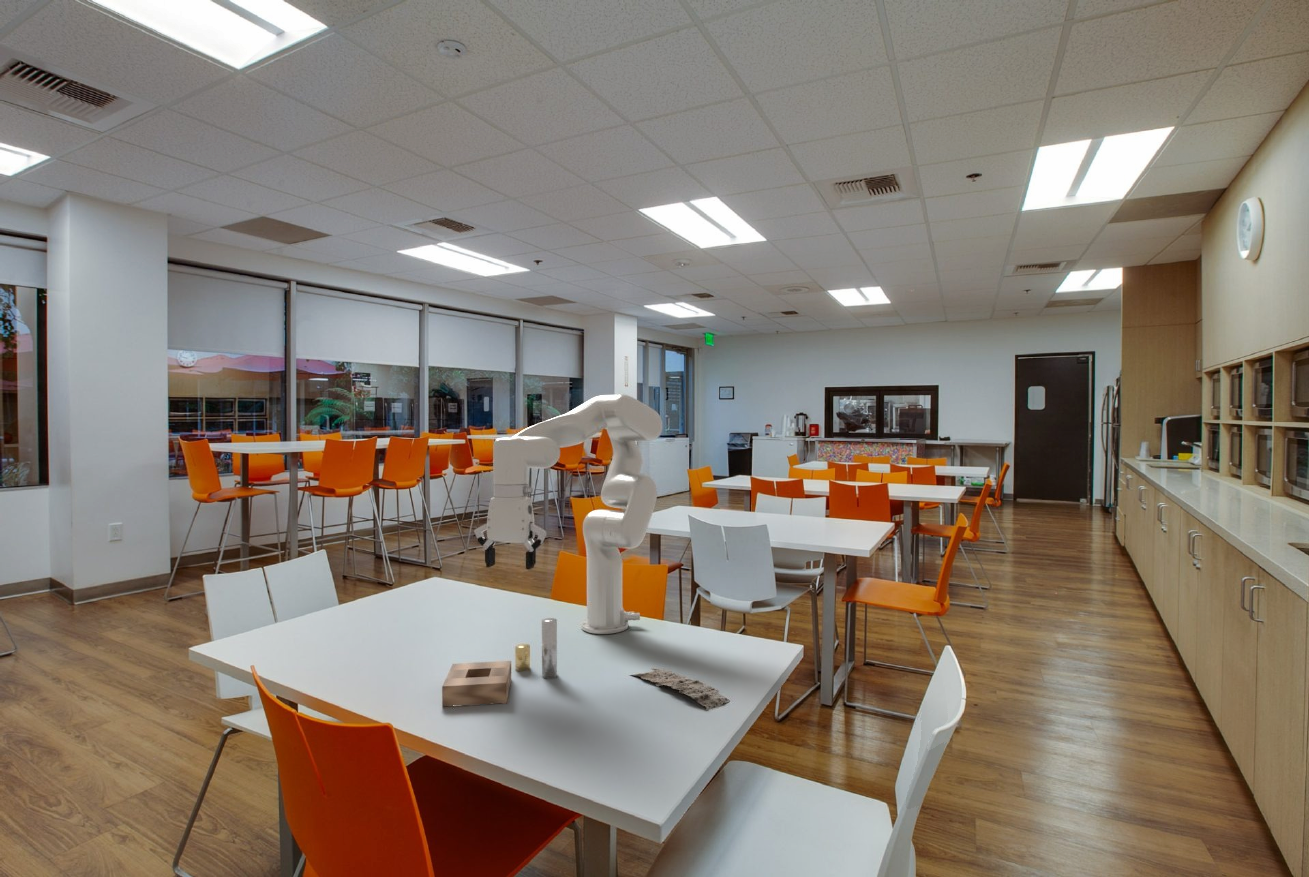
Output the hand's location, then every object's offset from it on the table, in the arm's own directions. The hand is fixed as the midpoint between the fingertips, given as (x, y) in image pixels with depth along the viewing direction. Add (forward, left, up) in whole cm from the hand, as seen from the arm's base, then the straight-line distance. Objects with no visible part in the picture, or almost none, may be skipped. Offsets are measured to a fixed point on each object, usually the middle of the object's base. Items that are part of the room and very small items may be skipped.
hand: (510, 567), depth 145 cm
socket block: (+5, +16, -22) cm, 27 cm away
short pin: (-3, +4, -22) cm, 22 cm away
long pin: (-9, +9, -22) cm, 25 cm away
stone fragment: (-35, +19, -23) cm, 46 cm away
